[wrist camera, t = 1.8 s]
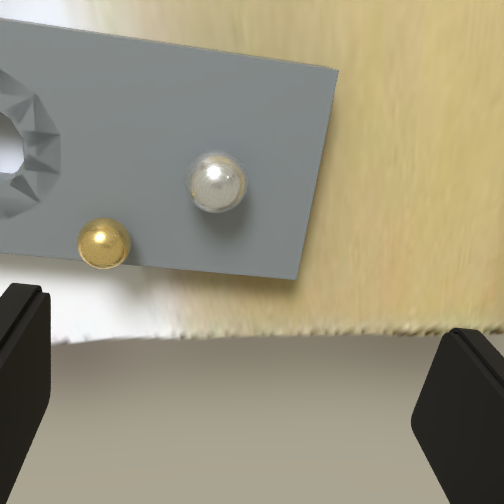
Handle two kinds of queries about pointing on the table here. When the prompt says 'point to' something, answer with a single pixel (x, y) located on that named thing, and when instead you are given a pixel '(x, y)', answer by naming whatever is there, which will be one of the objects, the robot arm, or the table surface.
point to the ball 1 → (103, 243)
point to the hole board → (158, 147)
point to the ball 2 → (216, 181)
